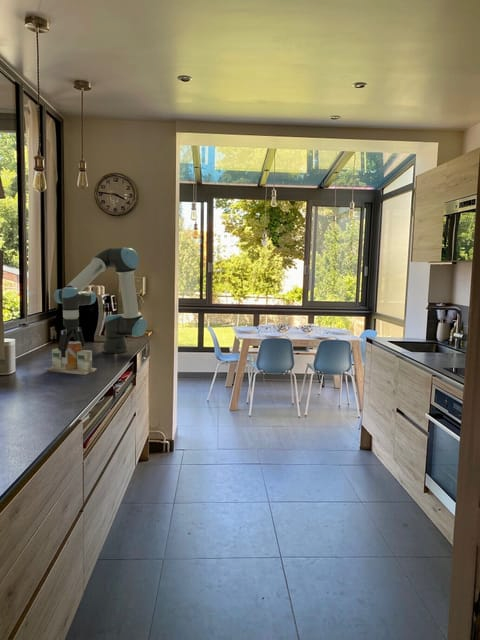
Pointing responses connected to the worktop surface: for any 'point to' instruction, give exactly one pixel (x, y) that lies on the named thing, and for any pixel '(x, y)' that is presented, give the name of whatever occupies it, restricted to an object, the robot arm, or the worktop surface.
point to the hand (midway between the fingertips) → (72, 361)
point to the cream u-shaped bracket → (82, 363)
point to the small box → (72, 354)
